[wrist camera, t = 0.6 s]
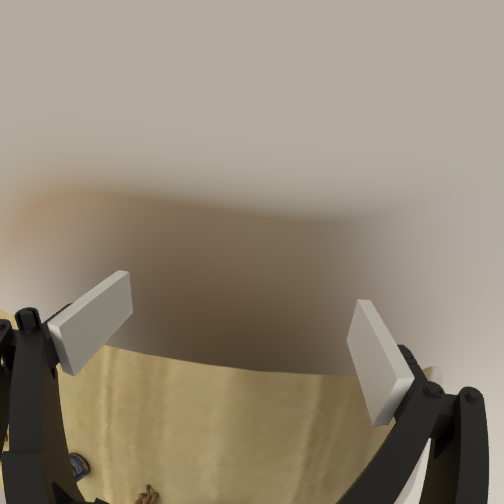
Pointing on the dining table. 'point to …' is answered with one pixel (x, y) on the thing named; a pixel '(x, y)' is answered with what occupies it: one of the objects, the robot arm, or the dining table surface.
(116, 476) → the dining table surface
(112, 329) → the robot arm
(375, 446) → the dining table surface
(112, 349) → the dining table surface
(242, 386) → the dining table surface
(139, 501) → the lion figurine
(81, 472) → the pill bottle
